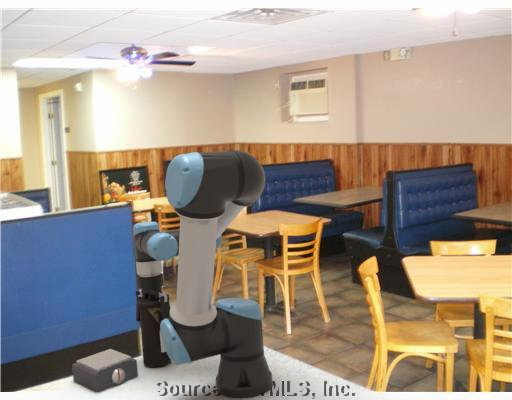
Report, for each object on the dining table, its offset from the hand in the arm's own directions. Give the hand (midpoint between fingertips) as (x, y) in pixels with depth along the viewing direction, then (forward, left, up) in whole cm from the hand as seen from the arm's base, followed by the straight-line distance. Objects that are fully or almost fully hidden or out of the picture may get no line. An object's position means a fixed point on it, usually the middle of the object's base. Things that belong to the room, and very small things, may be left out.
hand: (156, 347), depth 167 cm
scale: (+3, +16, -5) cm, 17 cm away
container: (0, 0, -5) cm, 5 cm away
